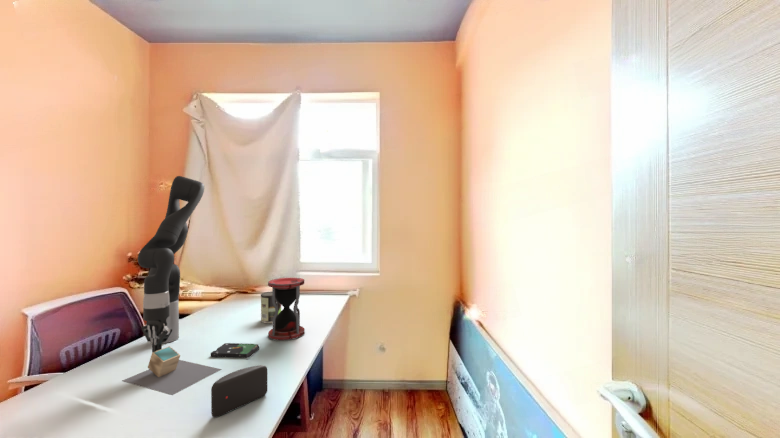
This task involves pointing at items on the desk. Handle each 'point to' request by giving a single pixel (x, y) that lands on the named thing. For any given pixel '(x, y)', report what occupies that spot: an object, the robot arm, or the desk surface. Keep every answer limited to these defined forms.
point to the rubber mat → (173, 377)
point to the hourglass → (286, 308)
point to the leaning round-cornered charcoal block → (238, 389)
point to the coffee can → (267, 308)
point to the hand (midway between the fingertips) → (156, 354)
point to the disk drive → (235, 350)
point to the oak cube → (163, 361)
